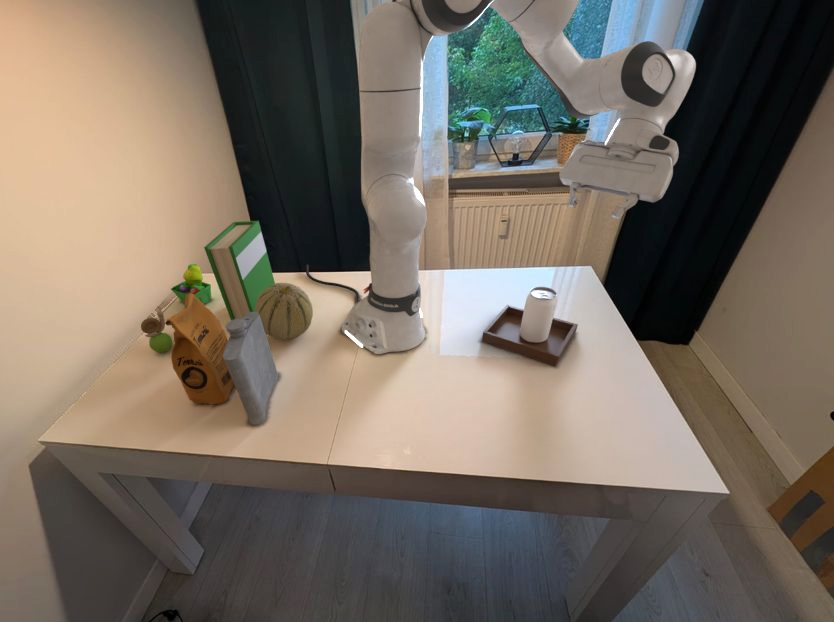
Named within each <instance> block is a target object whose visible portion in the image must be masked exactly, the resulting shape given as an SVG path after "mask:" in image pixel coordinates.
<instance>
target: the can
mask: <svg viewBox="0 0 834 622" xmlns="http://www.w3.org/2000/svg"><path fill="white" fill-rule="evenodd" d="M557 297H558V293H557V292H556V290H555V289H553V288H550V287H547V286H534V287H532V288H531V289H530V290H529V293H527V295H526V299H525V303H524V308H523V309H524V312H523V317H522V322H521V328H520V336H521V337H522V338H523V339H524V340H525V341H527V342H531V343H541V342H543V341H545V340H546V339H547V338H548V335H549V331H550V328H551V324H552V320H553V318H554V315H555V312H556V309H557V303H558V298H557Z"/></svg>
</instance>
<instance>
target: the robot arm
mask: <svg viewBox="0 0 834 622" xmlns="http://www.w3.org/2000/svg"><path fill="white" fill-rule="evenodd" d="M579 3H580V0H392V1H388V2H383V3H380V4H378V5H376V6H375V7H373V8H372V9H371V10H369V12H367V13H366V15H365V17H364V19H363V21H362V25H361V31H360V39H359V40H360V41H359V53H358V90H359V91H358V93H359V94H358V96H359V113H360V115H359V117H360V133H361V135H360V136H361V151H360V152H361V154H360V155H361V158H360V187H361V188H360V189H361V190H360V191H361V193H360V194H361V203H362V206H363V208H364V210H365V213H366V216H367V219H368V225H369V267H370V279H371V282H370V283H369V284H368V285H367V286H366V287H365V288H364V289H362V291H363V294H364V295H365V294H368V295H366V296H365V297H363V298H361V297H360V294H359V291H358V290H357V289H356V288H353V287H351V286H348V285H345V284H343V283H337V282H331V281H323V280H321V279H318V278H315V277H313V276H311V274H310V269H309V267H310V265H309V264H308V263H307V264H306V265H305V274H306V276H307V278H308V279H309V280H311V281H313V282H315V283H318V284H321V285H323V286H324V285H325V286H331V287H338V288H342V289H345V290H347V291H351V292H352V293H353V294H355V299H356V302H355V304H354V305H352V307H351V309H350V311H349V317H348V318H347V319H346V320H345V321H344V322H343V324H342V326H341V332H342V333H343V334H344V335H345V336H347V337H349V338H350V339H351V340H352V341H353V342H354V343H356V344H357V345H358V346H359V347H360V348H366V349H367V350H368V351H370V352H372V353H373V354H375V355H383V354H386V353H390V352H391V353H392V352H395V353H397V352H405V351H409V350H412V349H415V348H416V347H418V346H419V345H421V344H422V343H423V341H424V340H425V338H426V331H425V327H424V325H423V322H422V318H423V317H424V315H423V312H422V310H421V300H422V292H421V291H422V290H421V283H420V282H419V280H420V250H421V245H422V239H423V234H424V230H425V229H426V228H427V227H426V226H427V222H428V211H427V205H426V201H425V199H424V196H423V195H422V193H421V192H420V190H419V189H418V188H417V187H416V186H415V182H414V172H415V171H414V170H415V164H416V159H417V152H418V147H419V145H420V143H421V139H422V119H423V117H422V116H423V94H424V93H423V89H424V88H423V86H424V63H425V57H426V52H427V49H428V47H429V44H430V43H431V41H432V39H433V38H434V37H445V36H447V35H448V36H449V35H451V34H455V33H459V32H462V31H464V30H466V29H468V28H469V27H470V26H472V25H473V24H474V23H475V22H476V21H477V20H478V19H479V18H480V17H481V16H482V15H483V13H484V12H485V11H486V9H488V7H489V8H491V9H493V10H494V11H495V12H497V14H498V15H499V16H500V17H501V18H502V19H503V20H505V22H507V23H508V24H509V25H510V26H511V27H512V28H513V30H514V31H515V32H516V33H517V35H518V37H519V42H520V45H521V47H522V49H523V51H524V53H525V54H526V56H527V57H528V58H529V60H531V62H532V64H533V65H534V66H535V67H536V68H537V69H538V70H539V72H540V73H541V74H542V75H543V76H544V78H545V79H546V80H547V81H548V82H549V84H551V86H552V87H553V88H554V89H555V90H556V92H557V94H558V95H559V97H560V100H561V102H562V105H563V107H564V109H565V110H566V112H567V114H569V115H570V116H571V117H573V118H575V119H578V120H585V119H587V118H590V117H593V116H596V115H599V114H602V113H603V114H604V113H607V112H611V111H617V112H618V113H619V114H620V117H619V119H617V121H616V123H615V124H614V126H613V128H612V130H611V132H610V133H609V135H608V137H607V139H606V141H595V140H594V141H593V140H590V139H589V140H588V139H586V140H584V141H581V142H579V143H577V144H576V145H575V146H574V148H573V149H572V151H571V153H570V156H569V157H568V159H567V160H566V162H565V163H564V165H563V166H562V168H561V169H560V171H559V175H558V176H559V180H560V182H561V183H562V184H563V185H565V186H569V198H568V200H567V202H566V206H567V208H572V209H575V208H576V207H577V204H578V203H579V202H580V200H579V199H578V197H576V193H579V192H580V190H581V189H586V190H590V191H594V192H599V193H605V194H609V195H614V196H620V197H623V198H626V200H627V201H626V202H624V203H623V204H622V205H620V206H614V208H613V211H612V212H611V217H612V218H614V219H619V220H620V219H621V218H622V216H623V215H624V213H625V212H626V211H628V210H629V209H631V208H633V207H634V206H635V205H636V204H637V203H638V201H639V200H640V201H645V202H649V203H656V202H658V201H660V200H662V198H663V197H664V195H665V194H666V191H667V190H668V188H669V186H670V183H671V181H672V178H673V175H674V166H675V165H676V164H677V162H678V159H679V157H680V156H679V154H680V151H679V146H678V143H677V141H676V140H674V139H672V138H670V137H669V136H666V135H664V133H665V129H666V126H667V125H668V123H669V122H670V120H671V119H672V118H673V117H674V116H675V115H676V113H677V112H678V110H679V108H680V106H681V104H682V103H683V101H684V99H685V97H686V96H687V93H688V92H689V89H690V87H691V85H692V83H693V79H694V77H695V73H696V69H697V62H696V59H695V58H694V56H693V55H692V54H691V53H690V52H688V51H686V50H685V49H682V48H670V49H667V50H666V49H665V50H664V49H662V47H661V46H660V45H659V44H658V43H656V42H654V41H650V40H645V41H641V42H638V43H635V44H632V45H630V46H627V47H624V48H622V49H619V50H617V51H615V52H612V53H609V54H606V55H604V56H601V57H598V58H584V57H582V56H581V55H580V54H579V53H578V51H577V50H576V48H575V47H574V46H573V44H572V43H571V42H570V40H569V39H568V37H567V36H566V35H565V34H564V30H565V29H566V27H567V25H568V24H569V23H570V20H571V18H572V17H573V15H574V14H575V12H576V10H577V7H578V6H579Z"/></svg>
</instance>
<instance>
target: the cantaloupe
mask: <svg viewBox="0 0 834 622" xmlns="http://www.w3.org/2000/svg"><path fill="white" fill-rule="evenodd" d="M255 312H258V313H259V315H260V318H261V322H262V325H263V328H264V331H265V334H266V336H269V337H271V338H274V339H276V340H280V341H289V340H290V341H291V340H294V339H297V338H299V337H301V336H302V335H303V334H304V333H306V331H307V330H308V329H309V328H310V326H311V323H312V319H313V315H314V311H313V304H312V301H311V300H310V298H309V296H308V294H307V292H306V291H304V289H302V288H300V286H297V285H295V284H293V283H289V282H275V284H273V285H271V286H270V287H268V288H266V289H265V290H264V291H263V292H262V293H261V294H260V295H259V297H258V299H257V302H256V311H255Z"/></svg>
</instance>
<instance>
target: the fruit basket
mask: <svg viewBox="0 0 834 622" xmlns="http://www.w3.org/2000/svg"><path fill="white" fill-rule="evenodd" d="M182 278H183V280H184V281H182V282H180V283H178V284H177V285H174V286H172V287H171V288H170V290H171V291H172V292H173V293H174V294H175V296H176V297H177V298H178V299H179V300H180V301H181V302H182V303H185V296H186V295H187V294H189V293H192V294H193V295H194V296H195V297H196V298H197V299H199V300H200V301H201V302H202V303H203V304H204V305H205V304H207V303H209V302H210V301H212V290H211V289H212V284H211V283H208V282H204V281H203V274H202V272H201V267H199V266H198V264H197V263H190V264H188V265H187V270H185V271H184V273H183V277H182Z"/></svg>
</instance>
